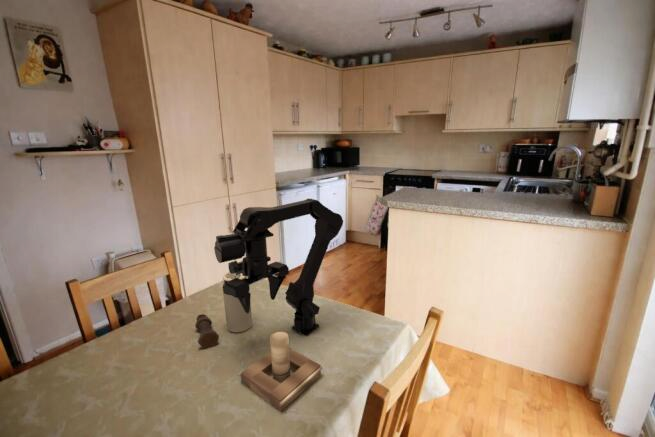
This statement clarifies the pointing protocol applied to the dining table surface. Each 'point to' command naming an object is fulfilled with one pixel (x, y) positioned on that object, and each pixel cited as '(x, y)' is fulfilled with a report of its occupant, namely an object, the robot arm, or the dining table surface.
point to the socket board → (288, 389)
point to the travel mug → (235, 308)
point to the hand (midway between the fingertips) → (260, 305)
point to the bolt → (206, 332)
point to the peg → (280, 356)
